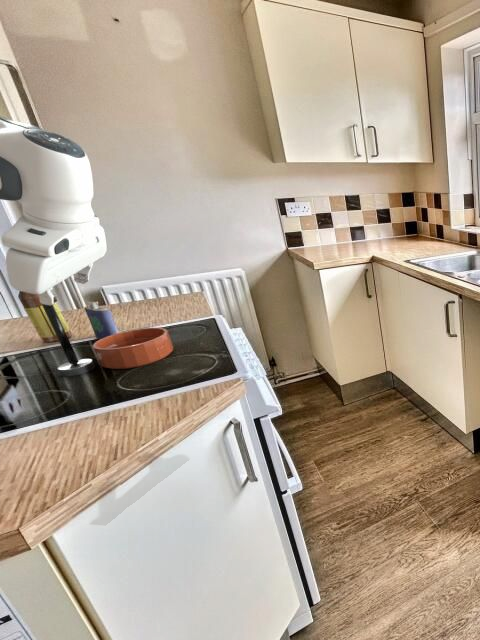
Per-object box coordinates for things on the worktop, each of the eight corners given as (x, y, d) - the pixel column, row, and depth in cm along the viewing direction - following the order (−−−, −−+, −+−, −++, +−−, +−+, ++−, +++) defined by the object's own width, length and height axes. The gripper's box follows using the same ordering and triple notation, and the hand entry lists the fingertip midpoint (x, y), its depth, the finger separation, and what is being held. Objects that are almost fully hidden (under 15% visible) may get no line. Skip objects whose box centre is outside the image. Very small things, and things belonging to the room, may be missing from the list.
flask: (123, 337, 120) (108, 301, 115) (111, 341, 117) (95, 305, 113) (104, 334, 123) (89, 298, 119) (92, 337, 120) (76, 301, 116)
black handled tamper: (53, 376, 98) (17, 304, 91) (80, 365, 103) (48, 296, 96) (76, 377, 97) (42, 305, 90) (102, 365, 103) (72, 297, 96)
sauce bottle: (73, 333, 124) (43, 266, 116) (71, 339, 119) (40, 270, 111) (42, 339, 120) (8, 270, 112) (38, 345, 115) (3, 274, 108)
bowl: (85, 369, 101) (75, 348, 99) (139, 345, 114) (132, 327, 112) (138, 371, 99) (130, 350, 97) (187, 347, 112) (181, 328, 110)
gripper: (77, 205, 84) (80, 266, 90) (-9, 240, 67) (3, 312, 74) (116, 216, 87) (117, 275, 93) (43, 253, 70) (49, 321, 76)
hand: (66, 291), depth 83 cm, fingers open, 8 cm apart
